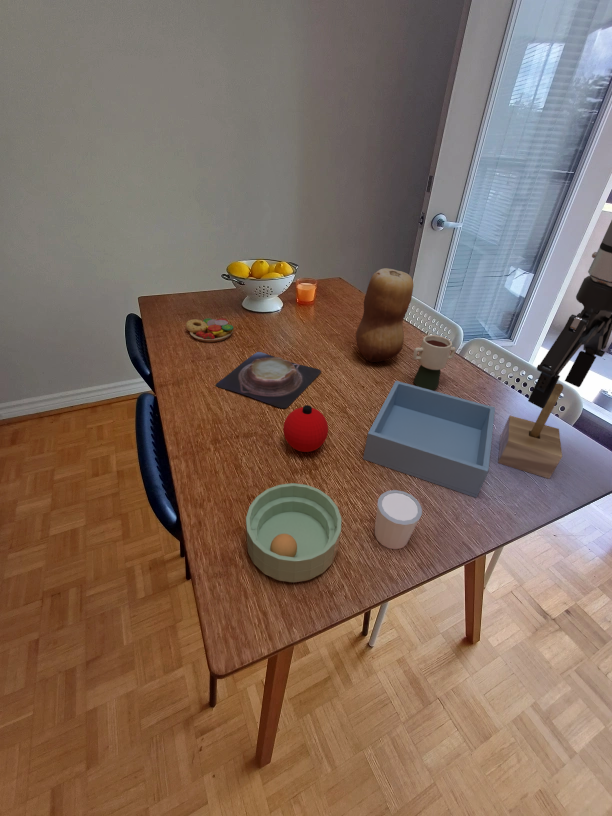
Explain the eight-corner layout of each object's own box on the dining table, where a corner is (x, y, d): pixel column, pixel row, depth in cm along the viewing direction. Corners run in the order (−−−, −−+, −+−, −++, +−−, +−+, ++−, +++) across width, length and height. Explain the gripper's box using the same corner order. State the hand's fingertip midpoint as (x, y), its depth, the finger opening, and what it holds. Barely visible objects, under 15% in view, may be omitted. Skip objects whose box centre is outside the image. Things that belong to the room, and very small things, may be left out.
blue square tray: (476, 498, 73) (488, 471, 69) (362, 459, 80) (367, 433, 76) (485, 431, 90) (495, 407, 86) (390, 404, 96) (395, 380, 93)
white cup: (385, 558, 62) (394, 530, 58) (362, 524, 67) (369, 496, 63) (421, 544, 64) (431, 516, 60) (396, 512, 69) (404, 484, 65)
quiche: (258, 352, 114) (258, 339, 112) (322, 371, 107) (323, 358, 105) (213, 385, 98) (212, 371, 96) (284, 410, 92) (285, 396, 89)
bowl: (315, 601, 55) (319, 577, 52) (229, 560, 60) (227, 535, 56) (349, 526, 66) (354, 502, 63) (274, 496, 70) (274, 472, 67)
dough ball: (289, 572, 58) (290, 555, 56) (265, 561, 59) (265, 544, 57) (300, 550, 61) (302, 534, 59) (277, 540, 62) (278, 524, 60)
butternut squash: (402, 371, 110) (423, 281, 95) (354, 368, 110) (367, 278, 95) (394, 348, 121) (412, 265, 107) (350, 345, 121) (362, 261, 106)
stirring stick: (527, 460, 83) (565, 387, 72) (519, 457, 83) (555, 385, 73) (527, 455, 84) (564, 383, 73) (519, 453, 84) (555, 381, 74)
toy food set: (182, 330, 123) (181, 320, 121) (221, 321, 130) (220, 312, 128) (201, 347, 114) (200, 336, 112) (241, 337, 121) (241, 327, 119)
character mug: (438, 378, 108) (451, 334, 101) (450, 392, 102) (465, 347, 95) (400, 379, 106) (411, 334, 99) (410, 394, 101) (422, 348, 93)
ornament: (283, 461, 78) (284, 421, 72) (282, 432, 85) (283, 393, 79) (328, 461, 79) (333, 421, 73) (323, 432, 86) (327, 394, 80)
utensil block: (549, 479, 78) (562, 456, 75) (497, 463, 81) (508, 440, 78) (547, 450, 86) (559, 428, 82) (500, 436, 89) (509, 415, 85)
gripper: (620, 264, 71) (567, 367, 83) (549, 285, 58) (499, 403, 71) (669, 276, 66) (605, 384, 78) (603, 302, 53) (539, 425, 66)
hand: (554, 393), depth 74 cm, fingers open, 13 cm apart
